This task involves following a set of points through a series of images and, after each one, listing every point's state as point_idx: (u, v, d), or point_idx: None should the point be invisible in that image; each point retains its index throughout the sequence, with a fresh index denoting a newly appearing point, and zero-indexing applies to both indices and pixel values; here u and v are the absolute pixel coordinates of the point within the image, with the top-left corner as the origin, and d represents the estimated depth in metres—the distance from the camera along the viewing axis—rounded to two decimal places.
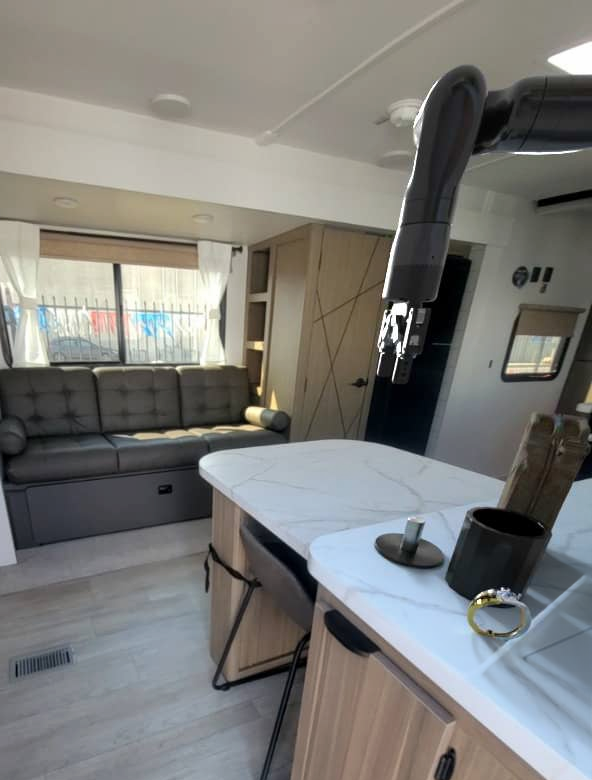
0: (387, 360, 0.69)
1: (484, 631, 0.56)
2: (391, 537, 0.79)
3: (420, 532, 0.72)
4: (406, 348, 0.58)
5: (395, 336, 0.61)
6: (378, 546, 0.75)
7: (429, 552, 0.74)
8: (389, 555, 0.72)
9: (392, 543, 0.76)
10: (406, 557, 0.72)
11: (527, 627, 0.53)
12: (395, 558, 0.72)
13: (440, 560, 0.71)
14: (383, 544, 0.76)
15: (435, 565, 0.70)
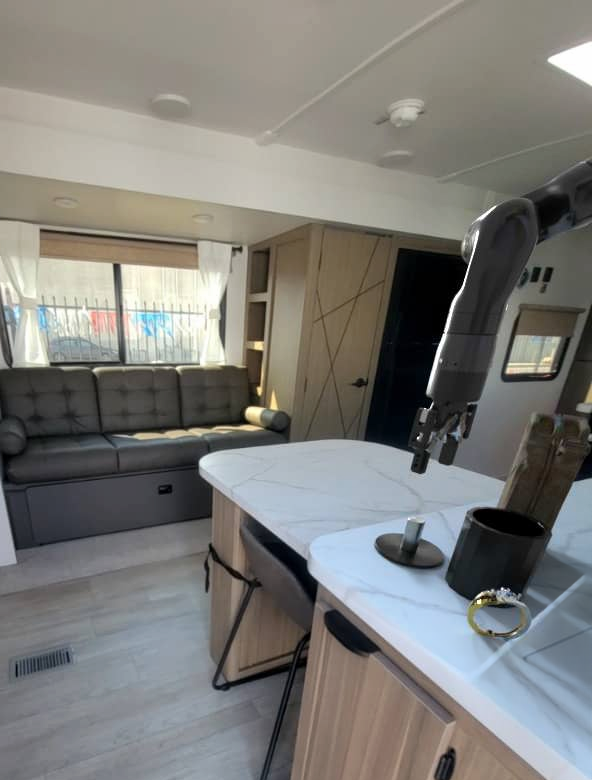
0: (447, 449, 0.69)
1: (484, 631, 0.56)
2: (391, 537, 0.79)
3: (420, 532, 0.72)
4: (409, 442, 0.63)
5: None
6: (378, 546, 0.75)
7: (429, 552, 0.74)
8: (389, 555, 0.72)
9: (392, 543, 0.76)
10: (406, 557, 0.72)
11: (527, 627, 0.53)
12: (395, 558, 0.72)
13: (440, 560, 0.71)
14: (383, 544, 0.76)
15: (435, 565, 0.70)
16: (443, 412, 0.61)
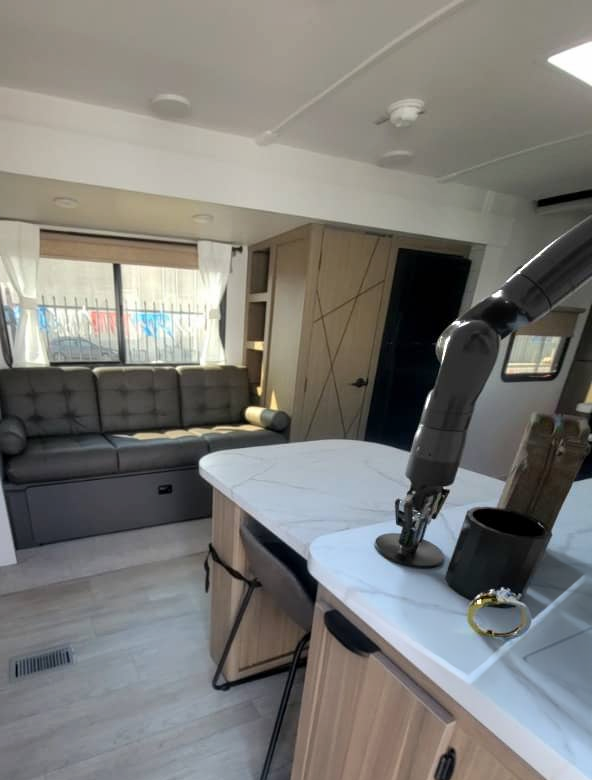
0: None
1: (484, 631, 0.56)
2: (391, 537, 0.79)
3: (420, 532, 0.72)
4: (397, 521, 0.71)
5: None
6: (378, 546, 0.75)
7: (429, 552, 0.74)
8: (389, 555, 0.72)
9: (392, 543, 0.76)
10: (406, 557, 0.72)
11: (527, 627, 0.53)
12: (395, 558, 0.72)
13: (440, 560, 0.71)
14: (383, 544, 0.76)
15: (435, 565, 0.70)
16: (419, 496, 0.67)
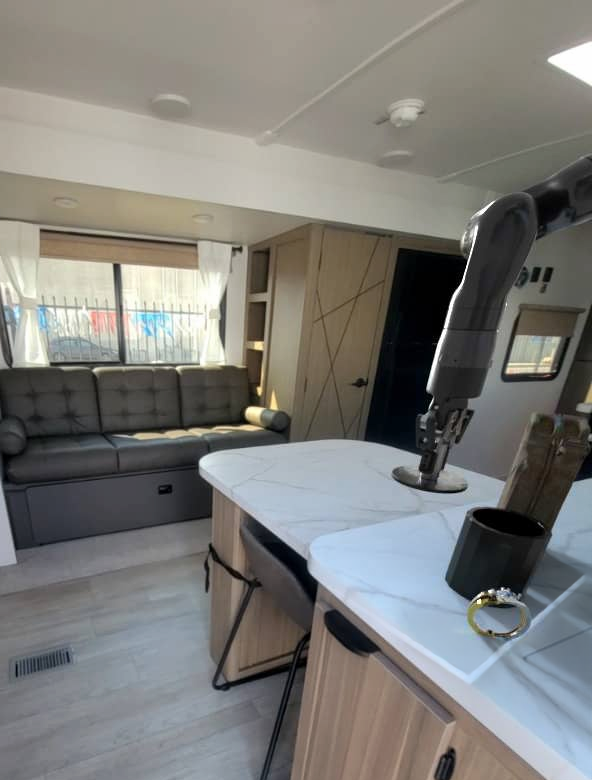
0: None
1: (484, 631, 0.56)
2: (409, 468, 0.72)
3: (442, 456, 0.66)
4: (417, 443, 0.65)
5: None
6: (396, 475, 0.69)
7: (452, 480, 0.68)
8: (409, 482, 0.66)
9: (411, 473, 0.70)
10: (427, 484, 0.66)
11: (527, 627, 0.53)
12: (415, 484, 0.65)
13: (464, 486, 0.65)
14: (401, 474, 0.70)
15: (459, 490, 0.64)
16: (443, 410, 0.61)
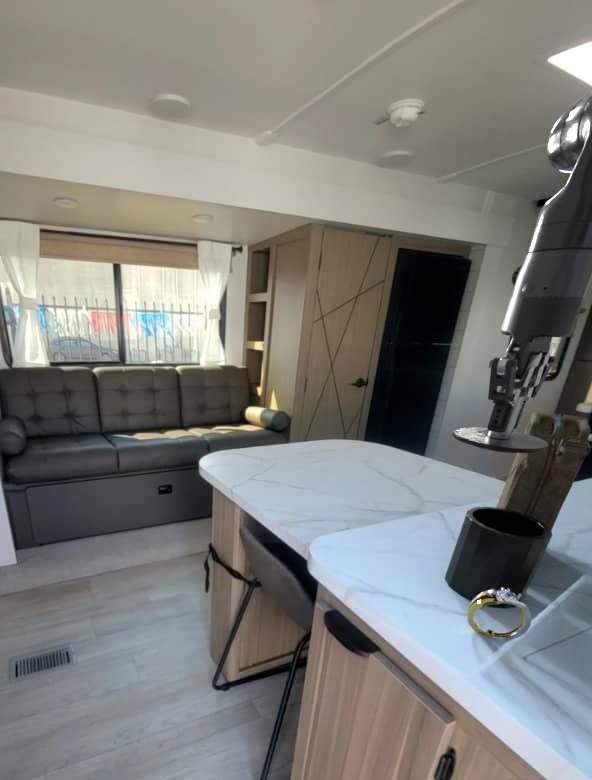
0: None
1: (484, 631, 0.56)
2: (471, 429, 0.63)
3: (518, 411, 0.56)
4: (490, 394, 0.55)
5: None
6: (459, 435, 0.59)
7: (527, 440, 0.58)
8: (478, 441, 0.57)
9: (476, 433, 0.61)
10: (500, 443, 0.56)
11: (527, 627, 0.53)
12: (486, 443, 0.56)
13: (545, 445, 0.56)
14: (465, 434, 0.60)
15: (540, 449, 0.54)
16: (525, 352, 0.51)
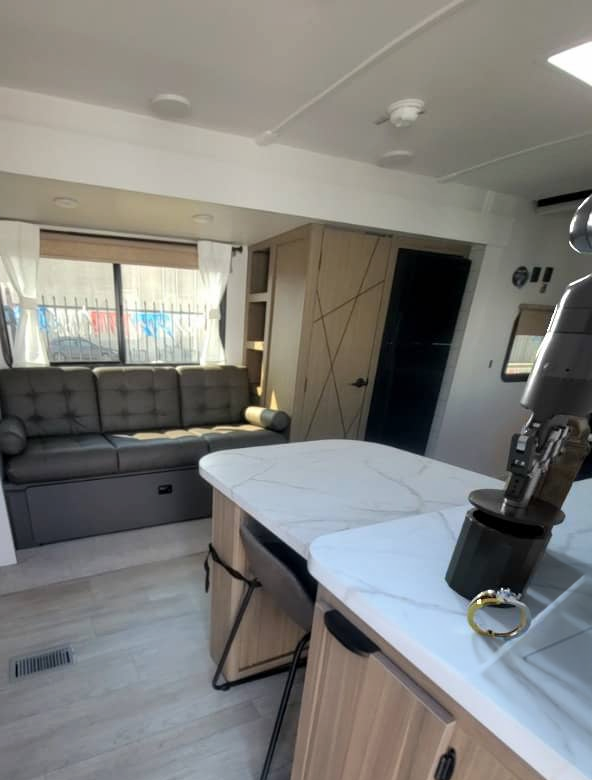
0: None
1: (484, 631, 0.56)
2: (487, 492, 0.63)
3: (535, 481, 0.56)
4: (508, 466, 0.55)
5: None
6: (476, 501, 0.59)
7: (543, 508, 0.58)
8: (496, 511, 0.57)
9: (492, 499, 0.61)
10: (517, 513, 0.56)
11: (527, 627, 0.53)
12: (504, 514, 0.56)
13: (562, 516, 0.56)
14: (481, 499, 0.60)
15: (558, 522, 0.54)
16: (545, 429, 0.51)
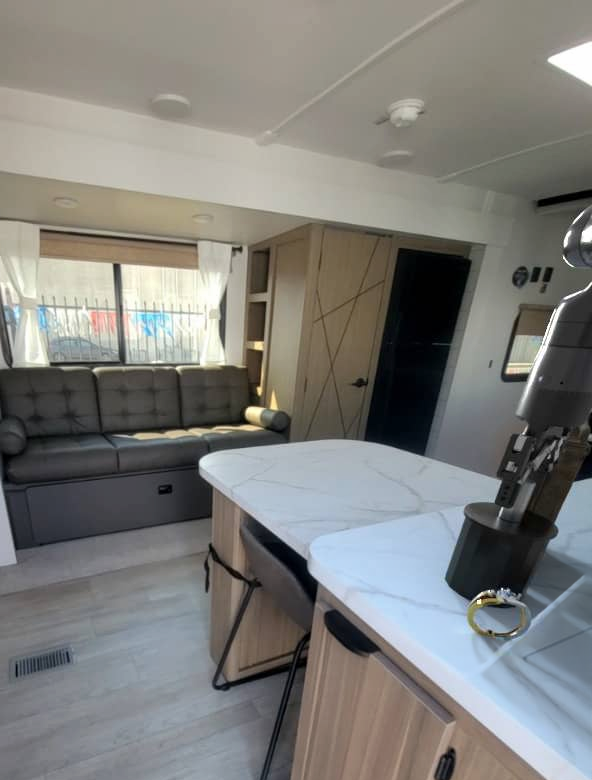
0: (533, 477, 0.60)
1: (484, 631, 0.56)
2: (482, 506, 0.64)
3: (529, 496, 0.57)
4: (498, 472, 0.54)
5: None
6: (471, 516, 0.60)
7: (537, 522, 0.59)
8: (490, 526, 0.58)
9: (487, 513, 0.62)
10: (511, 528, 0.57)
11: (527, 627, 0.53)
12: (498, 529, 0.57)
13: (555, 531, 0.57)
14: (476, 513, 0.61)
15: (551, 537, 0.55)
16: (541, 438, 0.52)
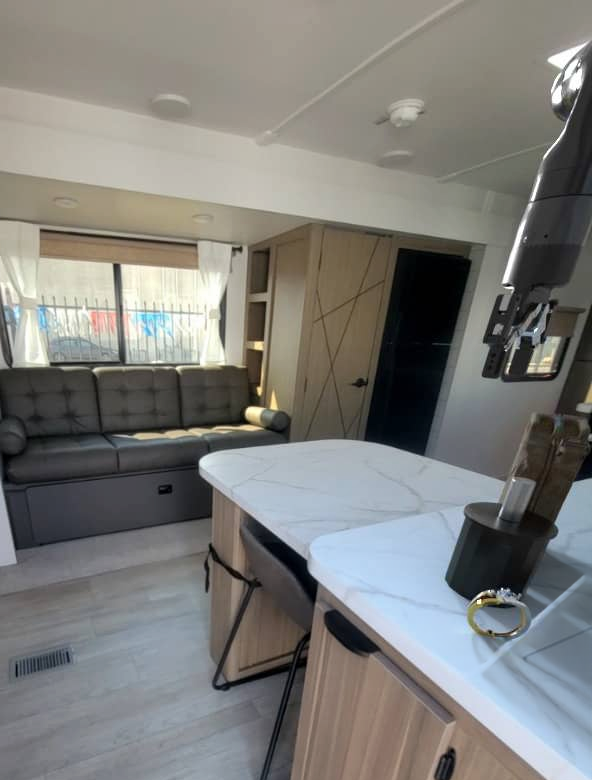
0: (521, 356, 0.60)
1: (484, 631, 0.56)
2: (482, 506, 0.64)
3: (529, 496, 0.57)
4: (484, 337, 0.54)
5: (496, 326, 0.56)
6: (471, 516, 0.60)
7: (537, 522, 0.59)
8: (490, 526, 0.58)
9: (487, 513, 0.62)
10: (511, 528, 0.57)
11: (527, 627, 0.53)
12: (498, 529, 0.57)
13: (555, 531, 0.57)
14: (476, 513, 0.61)
15: (551, 537, 0.55)
16: (526, 299, 0.52)
